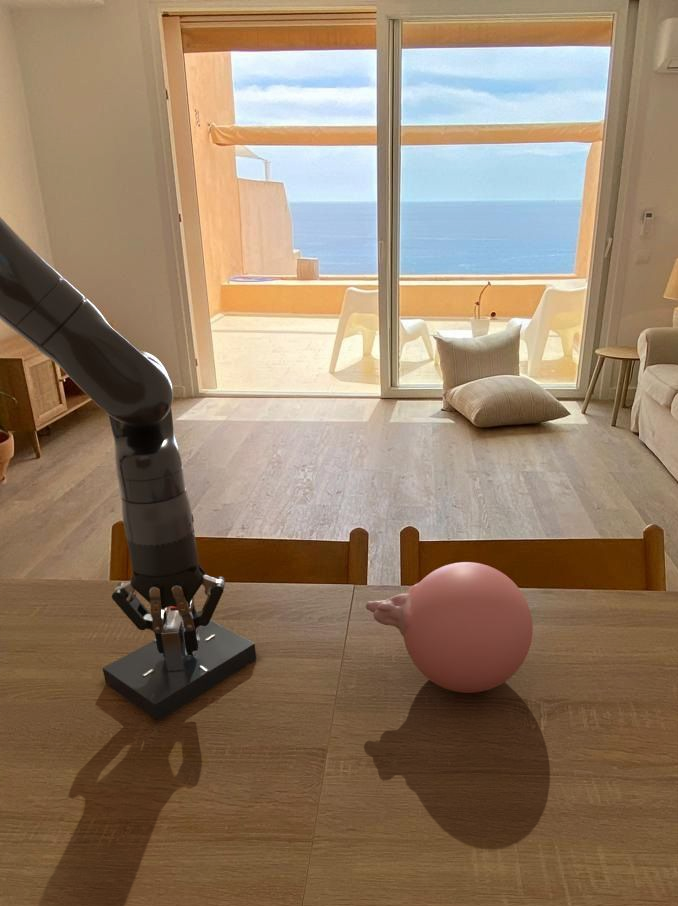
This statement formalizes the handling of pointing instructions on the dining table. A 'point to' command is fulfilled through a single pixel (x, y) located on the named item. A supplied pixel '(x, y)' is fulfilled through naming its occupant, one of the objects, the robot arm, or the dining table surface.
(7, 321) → the robot arm
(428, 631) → the balloon
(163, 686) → the base
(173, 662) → the tap handle
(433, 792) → the dining table surface
